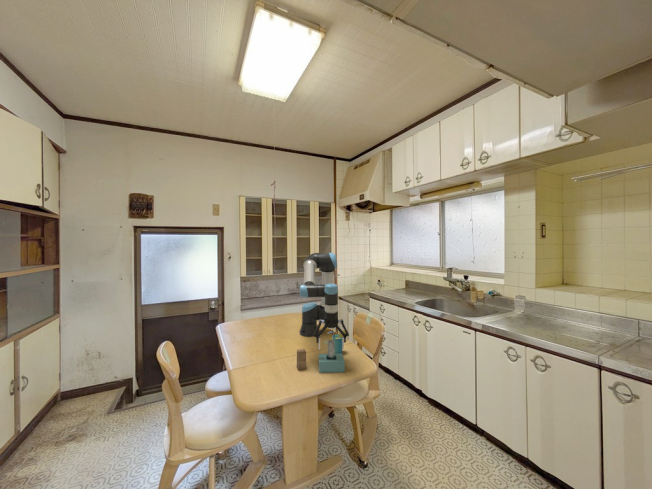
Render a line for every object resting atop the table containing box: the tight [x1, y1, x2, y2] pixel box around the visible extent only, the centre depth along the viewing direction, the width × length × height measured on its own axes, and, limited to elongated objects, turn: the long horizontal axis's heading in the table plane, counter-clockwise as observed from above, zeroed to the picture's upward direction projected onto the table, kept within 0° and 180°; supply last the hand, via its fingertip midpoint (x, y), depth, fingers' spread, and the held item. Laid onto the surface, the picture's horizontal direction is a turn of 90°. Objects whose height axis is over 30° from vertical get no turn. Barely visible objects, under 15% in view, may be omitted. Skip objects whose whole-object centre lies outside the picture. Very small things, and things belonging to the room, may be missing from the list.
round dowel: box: [327, 339, 335, 360], centre depth 144 cm, size 4×4×15 cm
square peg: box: [296, 348, 307, 371], centre depth 143 cm, size 4×4×10 cm
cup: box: [326, 329, 346, 354], centre depth 163 cm, size 14×8×15 cm, turn 119°
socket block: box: [318, 352, 346, 374], centre depth 143 cm, size 10×14×6 cm
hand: (331, 348), depth 144 cm, fingers open, 13 cm apart
